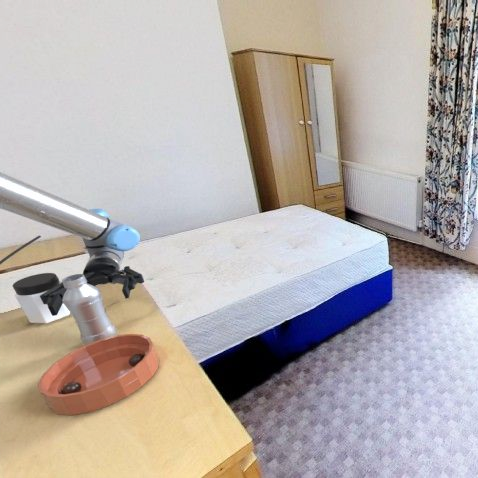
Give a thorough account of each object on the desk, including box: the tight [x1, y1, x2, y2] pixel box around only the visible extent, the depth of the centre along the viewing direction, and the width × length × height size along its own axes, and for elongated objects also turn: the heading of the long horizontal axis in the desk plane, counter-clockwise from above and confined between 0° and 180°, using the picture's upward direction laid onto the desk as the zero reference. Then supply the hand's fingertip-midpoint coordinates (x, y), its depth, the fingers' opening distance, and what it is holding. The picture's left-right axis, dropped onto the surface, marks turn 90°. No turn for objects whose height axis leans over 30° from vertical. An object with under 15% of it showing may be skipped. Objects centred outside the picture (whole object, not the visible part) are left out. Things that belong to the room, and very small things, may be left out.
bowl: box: [37, 333, 160, 416], centre depth 72 cm, size 18×18×6 cm
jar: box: [12, 272, 71, 324], centre depth 91 cm, size 9×8×12 cm
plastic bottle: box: [61, 273, 118, 346], centre depth 80 cm, size 6×7×20 cm
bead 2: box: [129, 354, 145, 367], centre depth 76 cm, size 3×3×3 cm
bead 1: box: [61, 382, 82, 394], centre depth 68 cm, size 3×3×3 cm
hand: (90, 302), depth 82 cm, fingers open, 13 cm apart
